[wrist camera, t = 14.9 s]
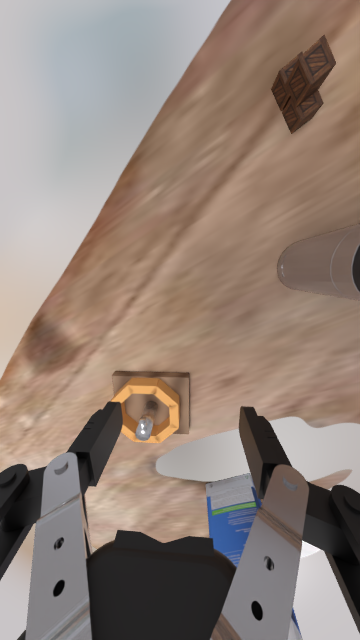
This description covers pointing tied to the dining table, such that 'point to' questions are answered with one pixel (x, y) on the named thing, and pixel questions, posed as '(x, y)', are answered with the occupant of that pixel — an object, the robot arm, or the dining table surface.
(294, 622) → the string lights box
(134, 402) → the hook stand
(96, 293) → the dining table surface
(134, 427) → the orange octagonal ring
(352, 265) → the robot arm
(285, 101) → the stack of crates
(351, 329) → the dining table surface
